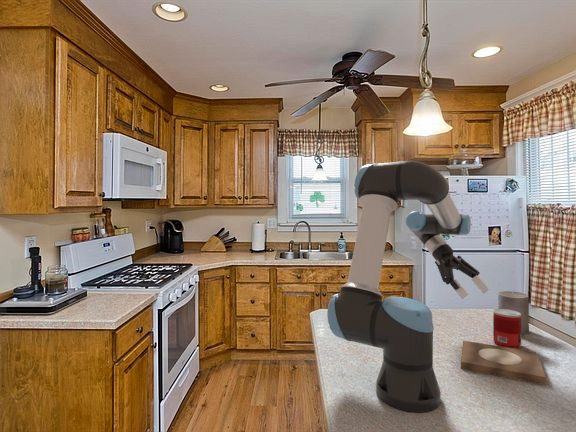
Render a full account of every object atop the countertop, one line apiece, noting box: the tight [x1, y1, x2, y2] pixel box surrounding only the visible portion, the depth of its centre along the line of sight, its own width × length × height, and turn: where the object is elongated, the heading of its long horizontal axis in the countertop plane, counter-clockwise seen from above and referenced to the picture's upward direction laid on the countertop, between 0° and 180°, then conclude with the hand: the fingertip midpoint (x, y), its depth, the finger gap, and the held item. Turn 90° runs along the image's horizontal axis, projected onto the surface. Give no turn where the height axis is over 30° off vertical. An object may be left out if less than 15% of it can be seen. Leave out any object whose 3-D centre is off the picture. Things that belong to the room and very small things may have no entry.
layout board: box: [460, 340, 547, 386], centre depth 103 cm, size 20×18×2 cm
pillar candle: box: [497, 290, 530, 335], centre depth 130 cm, size 10×10×15 cm
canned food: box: [492, 308, 522, 349], centre depth 117 cm, size 8×8×11 cm
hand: (476, 294), depth 126 cm, fingers open, 13 cm apart
